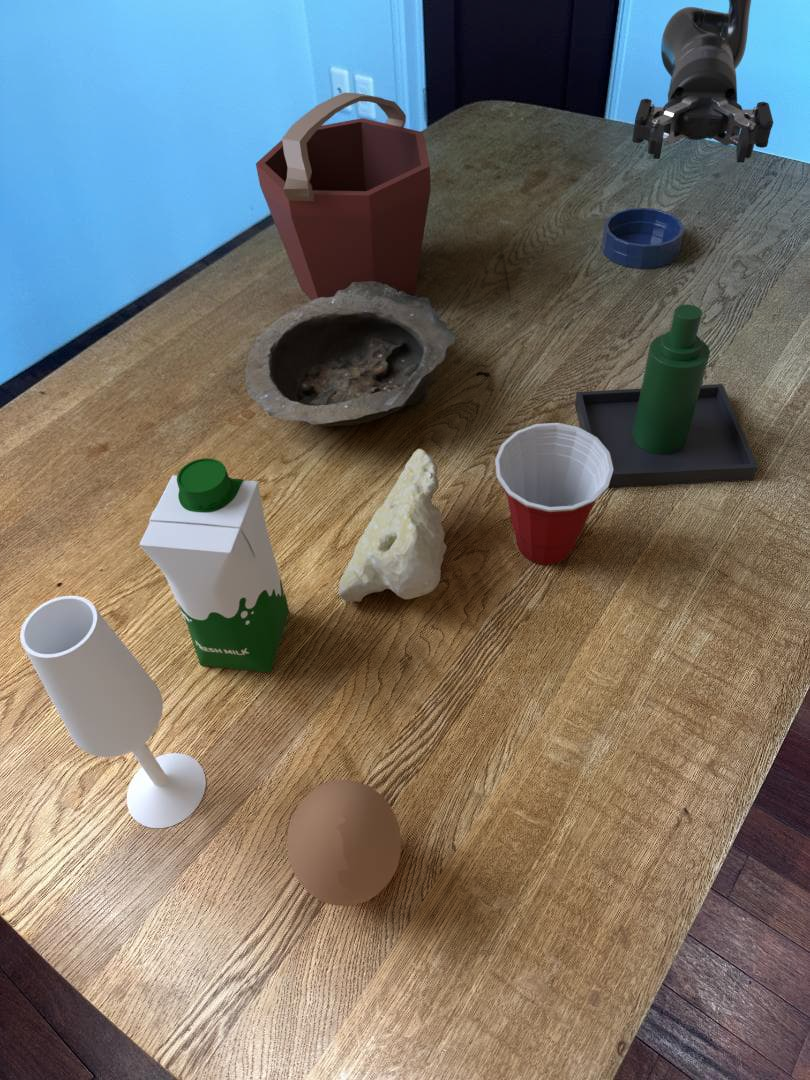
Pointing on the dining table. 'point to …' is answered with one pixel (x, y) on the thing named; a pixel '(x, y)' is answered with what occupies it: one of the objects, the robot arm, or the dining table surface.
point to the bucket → (349, 197)
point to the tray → (704, 458)
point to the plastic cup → (551, 486)
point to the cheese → (400, 539)
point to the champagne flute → (110, 705)
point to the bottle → (671, 384)
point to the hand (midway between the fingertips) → (700, 151)
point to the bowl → (642, 238)
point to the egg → (344, 842)
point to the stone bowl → (348, 356)
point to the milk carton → (220, 566)
